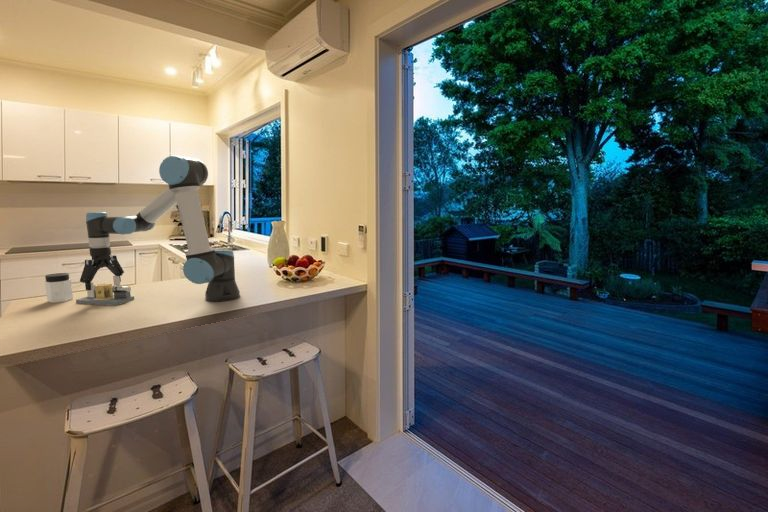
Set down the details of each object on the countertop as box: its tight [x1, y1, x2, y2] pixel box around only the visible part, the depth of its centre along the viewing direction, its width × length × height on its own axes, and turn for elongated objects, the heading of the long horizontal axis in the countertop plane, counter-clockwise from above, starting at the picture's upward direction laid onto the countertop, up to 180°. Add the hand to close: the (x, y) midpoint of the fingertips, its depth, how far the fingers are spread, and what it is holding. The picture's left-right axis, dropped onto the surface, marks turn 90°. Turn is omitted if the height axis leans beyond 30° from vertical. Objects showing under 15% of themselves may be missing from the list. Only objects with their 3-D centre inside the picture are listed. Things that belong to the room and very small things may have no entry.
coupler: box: [95, 283, 114, 299], centre depth 169 cm, size 5×5×6 cm
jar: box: [44, 272, 74, 304], centre depth 169 cm, size 9×8×12 cm
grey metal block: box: [112, 284, 132, 299], centre depth 170 cm, size 6×4×6 cm, turn 97°
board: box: [75, 294, 135, 306], centre depth 169 cm, size 20×10×2 cm, turn 82°
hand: (105, 293), depth 169 cm, fingers open, 13 cm apart
